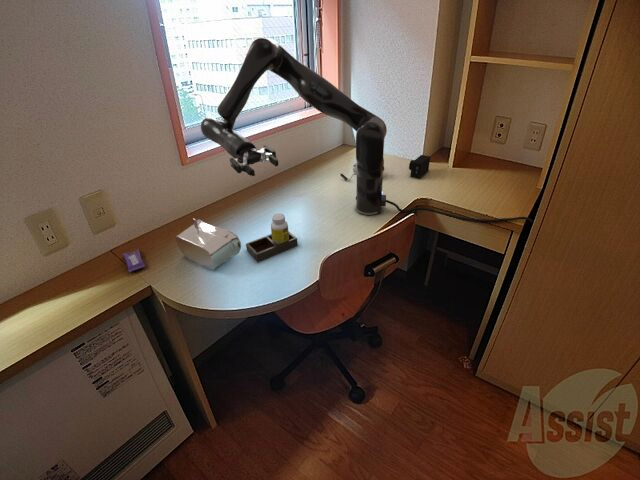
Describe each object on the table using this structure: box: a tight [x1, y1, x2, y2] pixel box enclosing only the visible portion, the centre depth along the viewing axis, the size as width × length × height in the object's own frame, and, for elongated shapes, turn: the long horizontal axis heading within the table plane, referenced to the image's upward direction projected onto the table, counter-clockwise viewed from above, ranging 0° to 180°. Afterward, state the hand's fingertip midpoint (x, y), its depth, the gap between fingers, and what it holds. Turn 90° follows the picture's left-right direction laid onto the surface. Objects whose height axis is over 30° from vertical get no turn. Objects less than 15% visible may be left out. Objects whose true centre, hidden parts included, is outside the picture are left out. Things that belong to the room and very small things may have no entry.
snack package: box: [122, 248, 146, 273], centre depth 111 cm, size 12×2×5 cm
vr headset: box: [175, 217, 242, 271], centre depth 109 cm, size 18×11×14 cm, turn 55°
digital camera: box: [408, 154, 431, 180], centre depth 157 cm, size 10×5×7 cm, turn 144°
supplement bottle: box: [270, 213, 290, 245], centre depth 114 cm, size 5×5×10 cm
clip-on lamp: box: [339, 162, 385, 182], centre depth 158 cm, size 12×6×18 cm
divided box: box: [245, 230, 299, 263], centre depth 114 cm, size 8×14×3 cm, turn 125°
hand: (265, 168), depth 110 cm, fingers open, 8 cm apart
